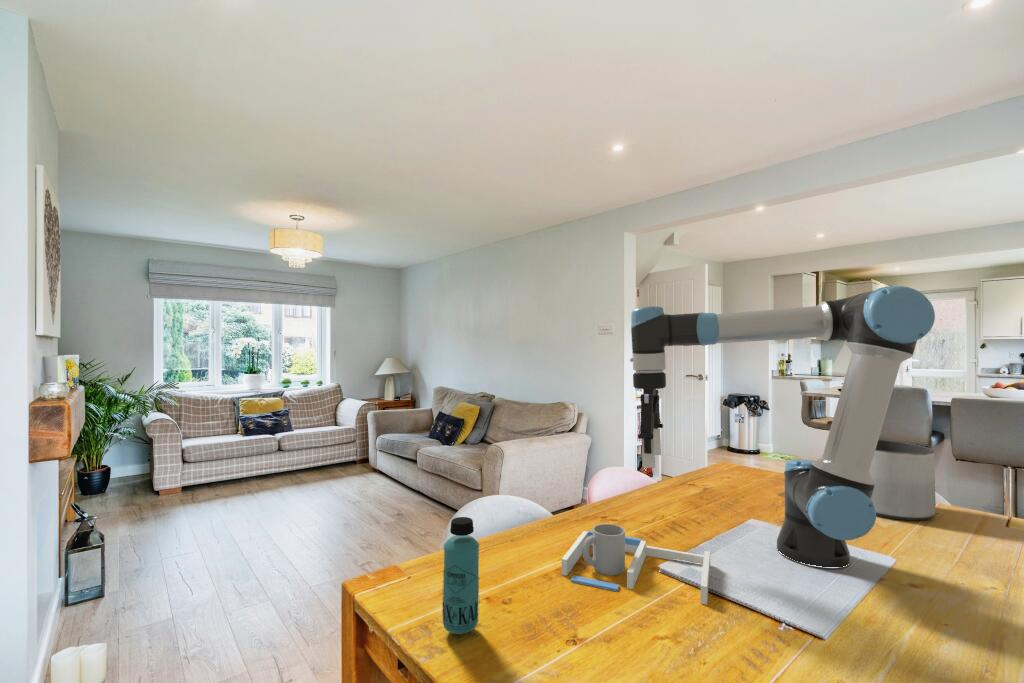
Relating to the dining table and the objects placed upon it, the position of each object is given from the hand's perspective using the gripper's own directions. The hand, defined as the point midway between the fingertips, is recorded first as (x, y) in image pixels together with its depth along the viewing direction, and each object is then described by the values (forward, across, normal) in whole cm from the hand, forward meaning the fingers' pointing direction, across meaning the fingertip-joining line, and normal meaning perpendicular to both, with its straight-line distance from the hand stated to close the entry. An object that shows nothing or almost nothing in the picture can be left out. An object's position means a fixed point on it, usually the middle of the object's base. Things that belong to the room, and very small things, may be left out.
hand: (652, 460), depth 116 cm
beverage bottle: (+22, +44, -29) cm, 57 cm away
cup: (+23, +10, -11) cm, 27 cm away
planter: (+26, -66, +63) cm, 95 cm away
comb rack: (+23, +7, -3) cm, 25 cm away
